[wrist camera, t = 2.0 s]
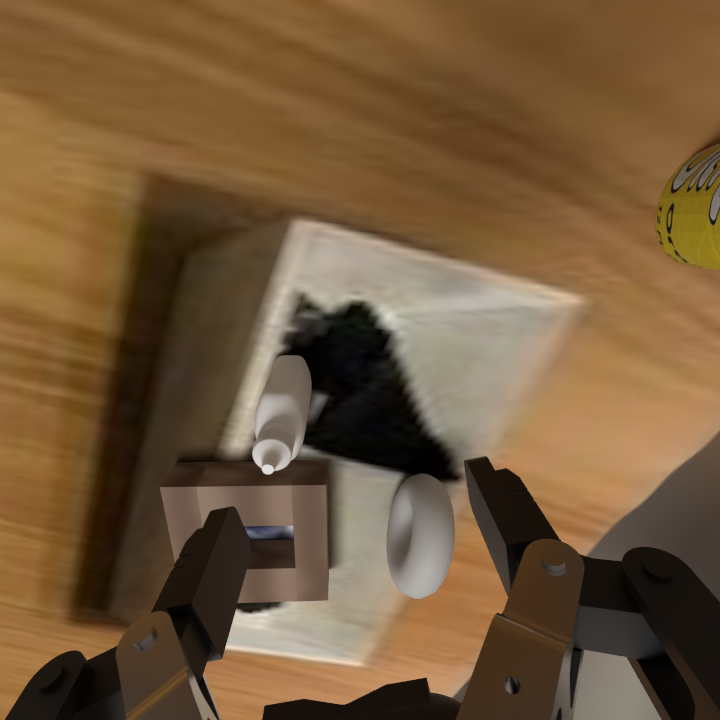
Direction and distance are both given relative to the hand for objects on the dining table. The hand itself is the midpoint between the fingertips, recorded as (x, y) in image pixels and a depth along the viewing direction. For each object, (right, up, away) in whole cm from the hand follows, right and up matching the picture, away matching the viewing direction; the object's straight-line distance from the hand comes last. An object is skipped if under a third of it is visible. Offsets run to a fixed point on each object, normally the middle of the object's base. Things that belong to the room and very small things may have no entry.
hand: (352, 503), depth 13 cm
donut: (+5, -8, +26) cm, 27 cm away
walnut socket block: (-10, -11, +26) cm, 30 cm away
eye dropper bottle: (-6, +3, +21) cm, 22 cm away
